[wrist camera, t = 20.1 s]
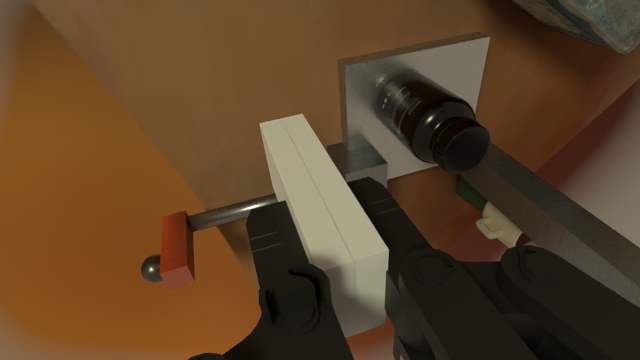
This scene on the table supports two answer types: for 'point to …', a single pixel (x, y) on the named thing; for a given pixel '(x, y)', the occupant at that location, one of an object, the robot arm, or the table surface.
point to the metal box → (590, 20)
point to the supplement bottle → (432, 122)
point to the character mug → (493, 218)
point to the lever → (190, 240)
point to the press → (487, 176)
